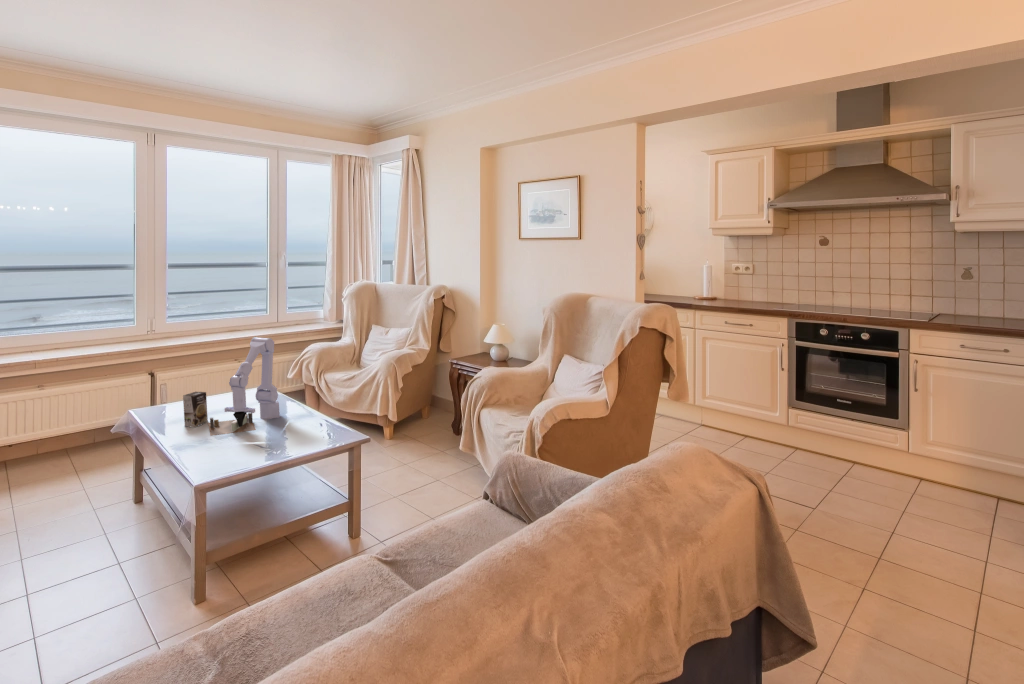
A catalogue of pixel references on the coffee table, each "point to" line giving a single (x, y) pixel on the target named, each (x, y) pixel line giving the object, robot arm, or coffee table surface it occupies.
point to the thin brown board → (229, 426)
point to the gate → (235, 423)
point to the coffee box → (195, 409)
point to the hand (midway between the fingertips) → (240, 426)
